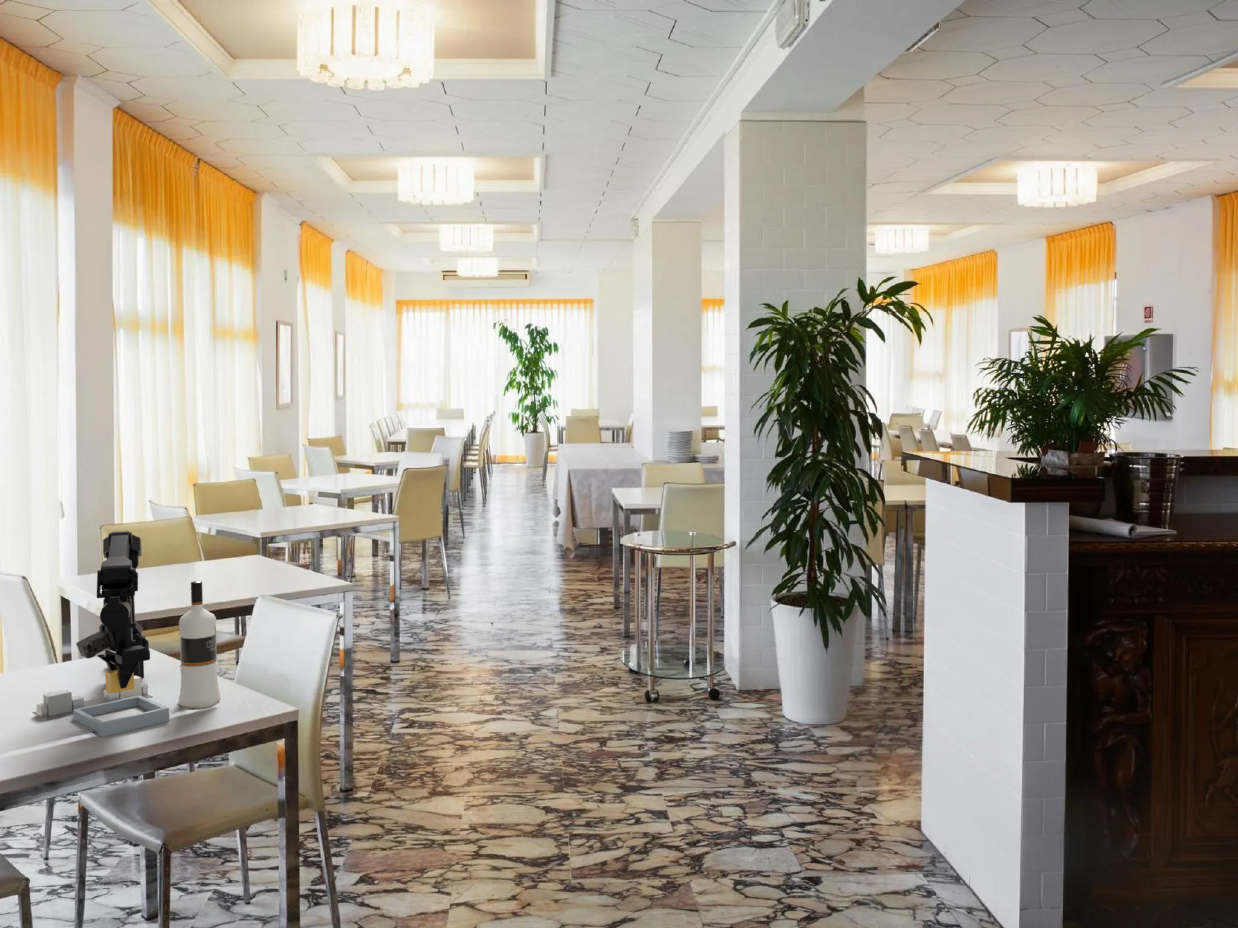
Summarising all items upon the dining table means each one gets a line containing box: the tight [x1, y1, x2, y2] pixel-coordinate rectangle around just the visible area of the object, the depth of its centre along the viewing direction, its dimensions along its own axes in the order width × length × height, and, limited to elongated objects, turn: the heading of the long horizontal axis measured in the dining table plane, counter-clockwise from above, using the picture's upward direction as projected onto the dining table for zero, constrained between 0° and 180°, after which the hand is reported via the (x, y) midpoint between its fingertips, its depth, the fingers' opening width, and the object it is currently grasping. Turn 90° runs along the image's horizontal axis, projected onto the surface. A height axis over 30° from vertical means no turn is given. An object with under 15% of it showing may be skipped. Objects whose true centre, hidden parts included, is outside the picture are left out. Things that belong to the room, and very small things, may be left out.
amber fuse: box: [104, 670, 134, 694], centre depth 230 cm, size 5×3×4 cm, turn 139°
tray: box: [72, 695, 170, 738], centre depth 231 cm, size 15×15×3 cm
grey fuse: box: [42, 689, 73, 716], centre depth 235 cm, size 5×3×4 cm, turn 139°
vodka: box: [178, 580, 221, 711], centre depth 243 cm, size 9×9×30 cm
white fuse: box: [119, 676, 142, 700], centre depth 247 cm, size 5×3×4 cm, turn 139°
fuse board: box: [31, 681, 154, 721], centre depth 241 cm, size 24×9×4 cm, turn 139°
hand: (120, 686), depth 231 cm, fingers closed on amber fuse, 3 cm apart
